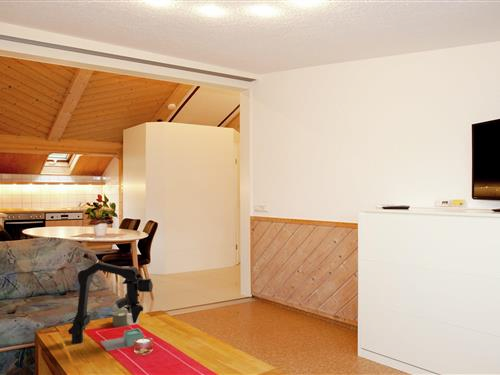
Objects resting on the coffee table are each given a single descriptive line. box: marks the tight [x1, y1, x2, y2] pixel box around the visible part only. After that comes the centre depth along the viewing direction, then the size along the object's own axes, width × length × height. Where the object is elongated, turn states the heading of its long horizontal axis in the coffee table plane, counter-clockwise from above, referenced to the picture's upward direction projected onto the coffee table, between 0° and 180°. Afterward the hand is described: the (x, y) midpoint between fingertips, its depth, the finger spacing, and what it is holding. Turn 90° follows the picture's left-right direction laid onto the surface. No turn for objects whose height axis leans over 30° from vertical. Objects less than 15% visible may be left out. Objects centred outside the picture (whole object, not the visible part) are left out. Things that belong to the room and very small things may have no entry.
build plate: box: [100, 327, 144, 352], centre depth 233 cm, size 16×19×7 cm
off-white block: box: [127, 313, 140, 326], centre depth 233 cm, size 5×5×5 cm
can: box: [111, 309, 130, 328], centre depth 269 cm, size 12×12×7 cm
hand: (133, 321), depth 233 cm, fingers closed on off-white block, 5 cm apart
